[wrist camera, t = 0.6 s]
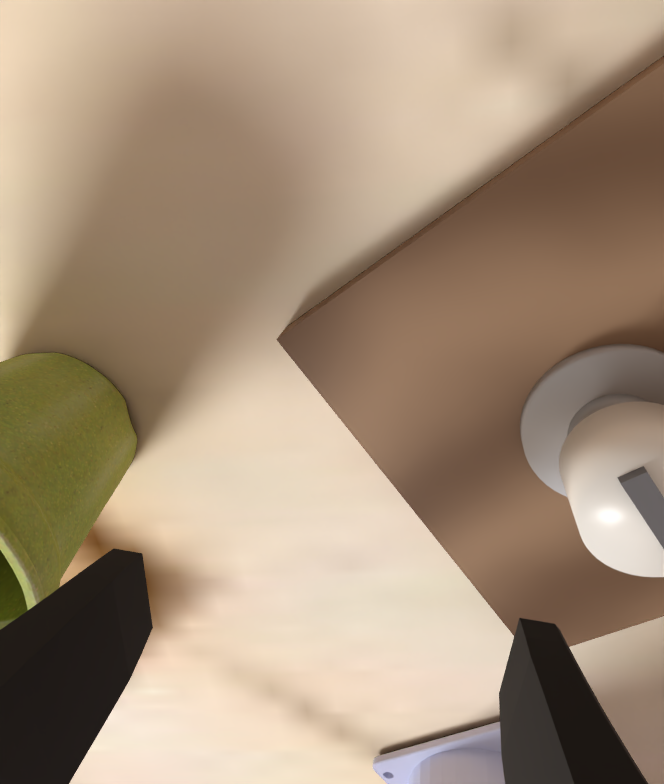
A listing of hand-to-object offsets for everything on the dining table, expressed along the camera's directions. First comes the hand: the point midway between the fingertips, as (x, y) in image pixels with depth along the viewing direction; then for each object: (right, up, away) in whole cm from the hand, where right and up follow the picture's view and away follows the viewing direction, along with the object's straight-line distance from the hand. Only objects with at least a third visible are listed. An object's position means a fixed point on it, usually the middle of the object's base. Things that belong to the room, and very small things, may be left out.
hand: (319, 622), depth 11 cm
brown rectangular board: (+9, +4, +7) cm, 12 cm away
